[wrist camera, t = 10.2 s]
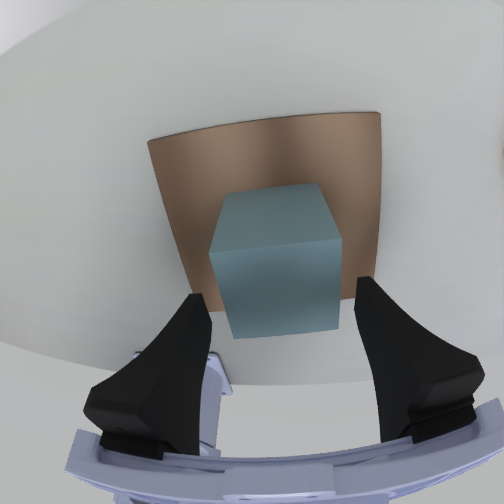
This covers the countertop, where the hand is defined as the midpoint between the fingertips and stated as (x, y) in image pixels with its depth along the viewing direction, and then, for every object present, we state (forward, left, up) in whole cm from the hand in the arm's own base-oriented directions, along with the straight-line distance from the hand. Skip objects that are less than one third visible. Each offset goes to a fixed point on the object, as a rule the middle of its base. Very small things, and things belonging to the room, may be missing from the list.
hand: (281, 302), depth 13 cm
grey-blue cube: (0, 0, -7) cm, 7 cm away
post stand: (0, 0, -7) cm, 7 cm away
